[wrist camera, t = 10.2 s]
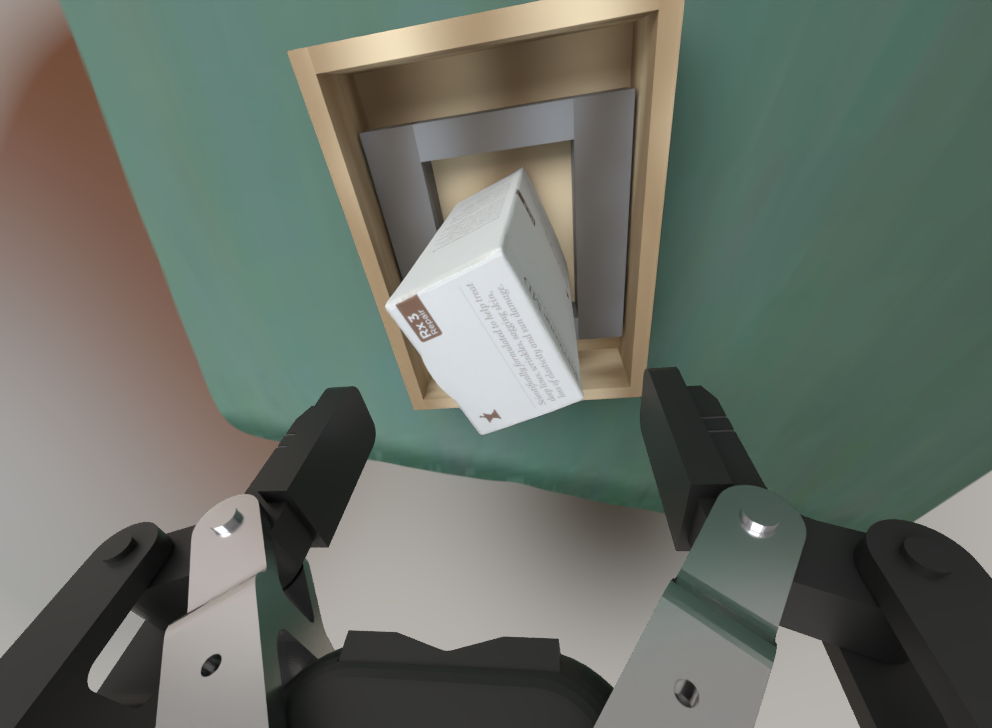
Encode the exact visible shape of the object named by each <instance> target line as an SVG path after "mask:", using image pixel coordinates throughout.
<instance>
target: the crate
mask: <svg viewBox="0 0 992 728" xmlns="http://www.w3.org/2000/svg"><path fill="white" fill-rule="evenodd" d="M684 1H685V0H541V1H536V2H531V3H526V4H521V5H516V6H511V7H506V8H501V9H496V10H491V11H486V12H481V13H476V14H471V15H466V16H461V17H456V18H451V19H446V20H441V21H436V22H431V23H426V24H421V25H416V26H411V27H406V28H401V29H396V30H391V31H386V32H381V33H376V34H371V35H366V36H361V37H356V38H351V39H346V40H341V41H336V42H331V43H326V44H321V45H316V46H311V47H306V48H301V49H296V50H291V51H287V53H288V56H289V59H290V61H291V64H292V67H293V70H294V73H295V75H296V78H297V81H298V84H299V87H300V90H301V92H302V95H303V98H304V101H305V104H306V106H307V109H308V112H309V115H310V118H311V121H312V123H313V126H314V129H315V132H316V135H317V137H318V140H319V143H320V146H321V149H322V152H323V154H324V157H325V160H326V163H327V166H328V168H329V171H330V174H331V177H332V180H333V183H334V185H335V188H336V191H337V194H338V197H339V199H340V202H341V205H342V208H343V211H344V214H345V216H346V219H347V222H348V225H349V228H350V231H351V233H352V236H353V239H354V242H355V245H356V247H357V250H358V253H359V256H360V259H361V262H362V264H363V267H364V270H365V273H366V276H367V278H368V281H369V284H370V287H371V290H372V293H373V295H374V298H375V301H376V304H377V307H378V309H379V312H380V315H381V318H382V321H383V324H384V326H385V329H386V332H387V335H388V338H389V340H390V343H391V346H392V349H393V352H394V355H395V357H396V360H397V363H398V366H399V369H400V371H401V374H402V377H403V380H404V383H405V386H406V388H407V391H408V394H409V397H410V400H411V402H412V405H413V408H414V410H425V409H441V408H458V407H459V406H458V404H457V403H456V402H455V401H454V400H453V398H451V397H450V396H449V395H447V394H446V393H445V392H444V391H443V390H442V389H441V388H440V387H439V385H438V384H437V383H436V381H435V380H434V379H433V378H432V376H431V374H430V373H429V371H428V370H427V368H426V366H425V364H424V362H423V359H422V357H421V355H420V354H419V352H418V351H417V350H416V348H415V347H414V346H413V345H412V343H411V342H410V341H409V339H408V338H407V337H406V335H405V334H404V333H403V331H402V330H401V329H400V327H399V326H398V325H397V323H396V322H395V321H394V320H393V318H392V317H391V316H390V314H389V313H388V312H387V310H386V308H385V305H386V303H387V301H388V300H389V299H390V297H391V296H392V295H393V293H394V292H395V291H396V289H397V288H398V287H399V285H400V284H401V283H402V281H403V280H404V278H405V277H406V276H407V274H408V273H409V271H410V270H411V269H412V267H413V266H414V264H415V263H416V261H417V260H418V258H419V257H420V256H421V254H422V253H423V251H424V250H425V248H426V247H427V246H428V244H429V243H430V241H431V240H432V238H433V237H434V235H435V234H436V233H437V231H438V230H439V228H440V227H441V226H442V224H443V223H444V221H445V220H446V219H447V217H448V216H449V214H450V213H451V211H452V210H453V208H454V207H455V205H456V204H457V203H459V202H461V201H463V200H464V199H466V198H468V197H470V196H472V195H474V194H476V193H478V192H479V191H481V190H483V189H485V188H487V187H489V186H490V185H492V184H494V183H496V182H498V181H499V180H501V179H503V178H505V177H507V176H508V175H510V174H512V173H514V172H515V171H517V170H519V169H520V168H522V167H523V168H524V169H525V170H526V172H527V174H528V176H529V178H530V179H531V181H532V183H533V185H534V188H535V190H536V192H537V194H538V196H539V198H540V200H541V202H542V204H543V207H544V209H545V211H546V213H547V215H548V218H549V220H550V222H551V224H552V227H553V229H554V232H555V234H556V236H557V239H558V241H559V244H560V247H561V250H562V252H563V255H564V258H565V261H566V264H567V269H568V277H569V286H570V294H571V302H572V308H573V316H574V324H575V332H576V340H577V350H578V359H579V367H580V377H581V383H582V389H583V394H584V398H583V399H582V400H593V399H610V398H627V397H642V386H643V375H644V371H645V369H647V360H648V350H649V341H650V331H651V321H652V312H653V302H654V292H655V282H656V273H657V263H658V253H659V244H660V234H661V224H662V214H663V205H664V195H665V185H666V176H667V166H668V156H669V146H670V137H671V127H672V117H673V108H674V98H675V88H676V78H677V69H678V59H679V49H680V40H681V30H682V20H683V11H684Z"/></svg>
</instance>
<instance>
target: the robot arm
mask: <svg viewBox="0 0 992 728" xmlns="http://www.w3.org/2000/svg"><path fill="white" fill-rule="evenodd" d="M640 423H641V431H642V435H643V439H644V442H645V446H646V449H647V453H648V456H649V460H650V463H651V466H652V470H653V473H654V477H655V480H656V484H657V487H658V491H659V494H660V498H661V501H662V504H663V508H664V511H665V515H666V518H667V522H668V525H669V529H670V532H671V535H672V539H673V542H674V546H675V549H676V551H690V552H689V554H688V556H687V558H686V560H685V562H684V564H683V566H682V568H681V570H680V572H679V574H678V575H677V577H676V578H675V579H674V578H673V579H672V580H671V582H670V583H669V585H668V586H667V588H666V590H665V591H664V593H663V595H662V597H661V599H660V601H659V603H658V605H657V607H656V609H655V610H654V612H653V614H652V616H651V618H650V620H649V622H648V624H647V626H646V628H645V630H644V632H643V633H642V635H641V637H640V639H639V641H638V643H637V645H636V647H635V649H634V651H633V653H632V655H631V657H630V658H629V660H628V662H627V664H626V666H625V668H624V670H623V672H622V674H621V676H620V678H619V680H618V682H617V684H616V685H615V687H614V688H613V687H612V686H611V685H610V684H609V683H608V682H607V681H606V680H604V679H603V678H602V677H601V676H600V675H598V674H597V673H596V672H594V671H593V670H592V669H590V668H589V667H587V666H586V665H584V664H582V663H580V662H578V661H576V660H575V659H572V658H570V657H567V656H564V655H562V654H561V653H560V647H559V639H550V638H524V637H501V638H497V639H493V640H489V641H485V642H482V643H478V644H474V645H471V646H467V647H463V648H459V649H455V650H452V651H443V650H440V649H438V648H435V647H433V646H430V645H427V644H425V643H423V642H420V641H417V640H415V639H412V638H410V637H407V636H405V635H402V634H400V633H397V632H375V631H351V630H350V631H348V634H347V637H346V640H345V643H344V646H343V648H340V649H338V650H334V648H333V646H332V644H331V642H330V640H329V639H328V637H327V635H326V633H325V630H324V627H323V623H322V619H321V614H320V610H319V605H318V601H317V596H316V593H315V587H314V583H313V579H312V574H311V570H310V566H309V562H308V561H307V559H306V558H305V557H306V555H307V553H308V551H309V549H310V547H329V545H330V543H331V540H332V538H333V536H334V534H335V531H336V529H337V526H338V524H339V522H340V520H341V518H342V515H343V513H344V511H345V509H346V506H347V504H348V502H349V500H350V497H351V495H352V493H353V491H354V488H355V486H356V484H357V481H358V479H359V477H360V475H361V472H362V470H363V468H364V466H365V463H366V461H367V459H368V457H369V454H370V452H371V450H372V448H373V445H374V442H375V436H376V432H375V425H374V422H373V420H372V418H371V416H370V414H369V411H368V409H367V407H366V405H365V403H364V400H363V398H362V396H361V394H360V392H359V390H358V389H357V388H356V387H354V386H350V387H334V388H328V389H326V390H325V391H324V393H323V394H322V396H321V397H320V399H319V400H318V402H317V403H316V404H315V406H311V407H310V408H309V409H308V410H307V411H305V412H304V413H303V414H302V415H301V416H299V417H298V418H297V419H296V420H295V422H294V423H293V425H292V426H291V428H290V429H289V430H288V432H287V433H286V434H287V436H284V438H283V439H282V440H281V442H280V443H279V445H278V448H276V449H275V450H274V452H273V454H272V455H271V456H270V458H269V459H268V461H267V462H266V463H265V465H264V466H263V468H262V469H261V471H260V472H259V473H258V475H257V476H256V478H255V479H254V480H253V482H252V483H251V485H250V486H249V488H248V489H247V490H246V492H245V493H244V494H240V495H235V496H233V497H230V498H228V499H225V500H223V501H221V502H220V503H218V504H217V505H215V506H214V507H213V508H211V509H210V510H209V511H208V512H207V513H206V514H205V515H204V516H203V517H202V518H201V519H200V520H199V522H198V523H197V524H196V525H194V526H191V527H188V528H184V529H181V530H177V531H174V532H171V533H167V534H165V533H164V532H163V531H162V530H161V529H160V528H158V527H157V526H156V525H155V524H154V523H151V522H142V523H138V524H134V525H131V526H129V527H127V528H125V529H123V530H121V531H119V532H117V533H116V534H114V535H113V536H111V537H110V538H109V539H108V540H106V541H105V542H104V543H102V545H100V546H99V547H98V548H97V549H96V550H95V551H94V552H93V553H92V555H91V556H90V557H89V558H88V559H87V560H86V561H85V563H84V564H83V565H82V566H81V567H80V568H79V569H78V570H77V572H76V573H75V574H74V575H73V576H72V577H71V578H70V580H69V581H68V582H67V583H66V584H65V585H64V586H63V588H62V589H61V590H60V591H59V592H58V593H57V595H56V596H55V597H54V598H53V599H52V600H51V601H50V602H49V604H48V605H47V606H46V607H45V608H44V609H43V610H42V612H41V613H40V614H39V615H38V616H37V617H36V619H35V620H34V621H33V622H32V623H31V624H30V625H29V627H28V628H27V629H26V630H25V631H24V632H23V633H22V634H21V636H20V637H19V638H18V639H17V640H16V641H15V643H14V644H13V645H12V646H11V647H10V648H9V649H8V650H7V652H6V653H5V654H4V655H3V656H2V658H0V728H155V727H156V728H754V726H755V722H756V719H757V716H758V712H759V709H760V706H761V703H762V699H763V696H764V693H765V689H766V686H767V682H768V679H769V676H770V673H771V669H772V666H773V662H774V658H775V654H776V649H777V644H776V642H775V637H776V633H777V630H778V626H782V627H785V628H787V629H791V630H793V631H797V632H799V633H802V634H805V635H808V636H811V637H814V638H816V639H819V640H822V642H823V645H824V647H825V649H826V651H827V654H828V656H829V658H830V660H831V663H832V665H833V667H834V670H835V672H836V674H837V676H838V679H839V681H840V683H841V685H842V688H843V690H844V692H845V694H846V697H847V699H848V701H849V703H850V706H851V708H852V710H853V712H854V715H855V717H856V719H857V721H858V724H859V726H860V728H992V578H991V577H990V576H989V575H988V573H987V572H986V571H985V570H984V569H983V568H982V566H981V565H980V564H979V563H978V562H977V561H976V560H975V558H974V557H973V556H972V555H971V554H970V553H968V552H967V551H966V550H965V549H964V548H963V547H961V546H960V545H959V544H957V543H956V542H955V541H953V540H951V539H950V538H948V537H946V536H945V535H943V534H941V533H939V532H937V531H935V530H933V529H931V528H928V527H926V526H923V525H920V524H917V523H914V522H909V521H905V520H896V519H893V520H883V521H879V522H877V523H875V524H873V525H872V526H871V527H870V528H869V529H868V531H867V532H866V533H864V532H860V531H856V530H852V529H848V528H844V527H840V526H836V525H832V524H828V523H824V522H820V521H816V520H813V519H810V518H808V517H805V516H803V515H800V514H799V513H798V511H797V510H796V509H795V508H794V507H793V506H792V505H791V504H790V503H789V502H788V501H786V500H785V499H784V498H782V497H781V496H779V495H778V494H776V493H774V492H772V491H769V490H768V489H767V488H766V486H765V485H764V483H763V481H762V479H761V478H760V476H759V474H758V472H757V470H756V468H755V467H754V465H753V463H752V461H751V459H750V458H749V456H748V454H747V452H746V450H745V449H744V447H743V445H742V443H741V441H740V439H739V438H738V436H737V434H736V432H734V431H733V427H732V425H731V423H730V421H729V420H728V418H726V414H725V412H724V410H723V409H722V407H721V405H720V403H719V401H718V400H717V398H715V397H714V396H713V395H712V394H710V393H709V392H708V391H707V390H705V389H704V388H703V387H702V386H686V384H685V382H684V380H683V378H682V376H681V374H680V372H679V370H678V368H677V367H666V368H650V369H645V371H644V375H643V386H642V397H641V408H640ZM130 610H131V611H132V612H134V613H136V614H137V615H139V616H140V617H142V618H143V619H145V621H144V623H143V624H142V626H141V627H140V629H139V630H138V632H137V633H136V635H135V637H134V638H133V640H132V641H131V642H130V644H129V646H128V647H127V648H126V650H125V651H124V653H123V654H122V656H121V657H120V659H119V661H118V662H117V663H116V665H115V666H114V668H113V669H112V671H111V672H110V674H109V675H108V677H107V678H106V680H105V681H104V683H103V684H102V686H101V687H100V689H99V690H98V692H97V693H95V692H93V691H91V690H90V689H89V687H88V683H87V678H88V674H89V671H90V668H91V666H92V664H93V663H94V661H95V660H96V658H97V657H98V656H99V654H100V653H101V651H102V650H103V648H104V647H105V646H106V644H107V643H108V641H109V640H110V639H111V637H112V636H113V634H114V633H115V631H116V630H117V629H118V627H119V626H120V625H121V623H122V622H123V620H124V619H125V618H126V616H127V614H128V613H129V612H130Z"/></svg>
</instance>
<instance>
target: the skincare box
mask: <svg viewBox="0 0 992 728" xmlns="http://www.w3.org/2000/svg"><path fill="white" fill-rule="evenodd" d="M385 308H386V310H387V312H388V313H389V314H390V316H391V317H392V318H393V320H394V321H395V322H396V323H397V325H398V326H399V327H400V329H401V330H402V331H403V333H404V334H405V335H406V337H407V338H408V339H409V341H410V342H411V343H412V345H413V346H414V347H415V348H416V350H417V351H418V352H419V354H420V355H421V357H422V359H423V362H424V364H425V366H426V368H427V370H428V371H429V373H430V374H431V376H432V378H433V379H434V380H435V381H436V383H437V384H438V385H439V387H440V388H441V389H442V390H443V391H444V392H445V393H446V394H447V395H449V396H450V397H451V398H453V400H454V401H455V402H456V403H457V404H458V406H459V407H460V408H461V410H462V411H463V412H464V414H465V415H466V416H467V418H468V419H469V420H470V422H471V423H472V424H473V426H474V427H475V428H476V430H477V431H478V433H479V434H481V435H484V434H487V433H490V432H494V431H497V430H500V429H503V428H506V427H509V426H512V425H514V424H517V423H520V422H523V421H526V420H529V419H532V418H535V417H538V416H541V415H544V414H546V413H549V412H552V411H555V410H558V409H560V408H563V407H565V406H568V405H570V404H573V403H575V402H578V401H581V400H582V399H583V398H584V394H583V389H582V383H581V377H580V367H579V359H578V350H577V340H576V332H575V324H574V316H573V308H572V302H571V294H570V286H569V277H568V269H567V264H566V261H565V258H564V255H563V252H562V250H561V247H560V244H559V241H558V239H557V236H556V234H555V232H554V229H553V227H552V224H551V222H550V220H549V218H548V215H547V213H546V211H545V209H544V207H543V204H542V202H541V200H540V198H539V196H538V194H537V192H536V190H535V188H534V185H533V183H532V181H531V179H530V178H529V176H528V174H527V172H526V170H525V169H524V168H523V167H522V168H520V169H519V170H517V171H515V172H514V173H512V174H510V175H508V176H507V177H505V178H503V179H501V180H499V181H498V182H496V183H494V184H492V185H490V186H489V187H487V188H485V189H483V190H481V191H479V192H478V193H476V194H474V195H472V196H470V197H468V198H466V199H464V200H463V201H461V202H459V203H457V204H456V205H455V207H454V208H453V210H452V211H451V213H450V214H449V216H448V217H447V219H446V220H445V221H444V223H443V224H442V226H441V227H440V228H439V230H438V231H437V233H436V234H435V235H434V237H433V238H432V240H431V241H430V243H429V244H428V246H427V247H426V248H425V250H424V251H423V253H422V254H421V256H420V257H419V258H418V260H417V261H416V263H415V264H414V266H413V267H412V269H411V270H410V271H409V273H408V274H407V276H406V277H405V278H404V280H403V281H402V283H401V284H400V285H399V287H398V288H397V289H396V291H395V292H394V293H393V295H392V296H391V297H390V299H389V300H388V301H387V303H386V305H385Z"/></svg>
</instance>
